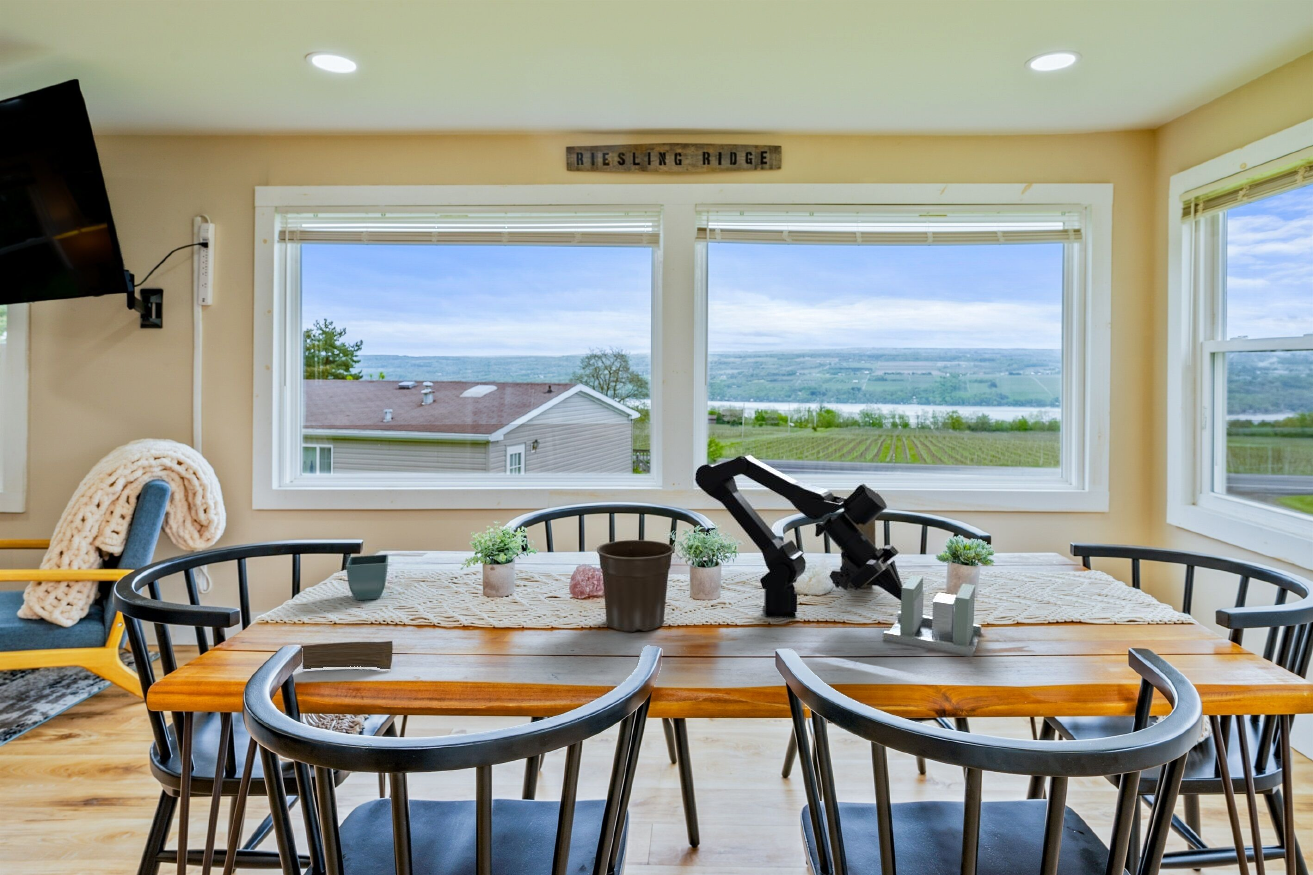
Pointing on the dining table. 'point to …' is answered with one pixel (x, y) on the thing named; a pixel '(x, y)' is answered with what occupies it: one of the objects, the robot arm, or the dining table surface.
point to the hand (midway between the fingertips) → (904, 599)
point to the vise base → (925, 638)
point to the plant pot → (635, 583)
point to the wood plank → (348, 655)
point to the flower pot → (367, 576)
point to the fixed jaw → (964, 615)
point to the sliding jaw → (912, 605)
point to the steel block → (943, 617)
